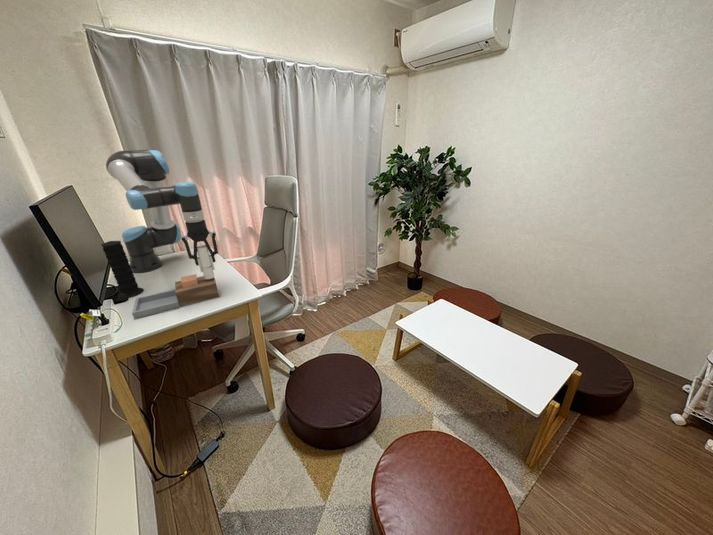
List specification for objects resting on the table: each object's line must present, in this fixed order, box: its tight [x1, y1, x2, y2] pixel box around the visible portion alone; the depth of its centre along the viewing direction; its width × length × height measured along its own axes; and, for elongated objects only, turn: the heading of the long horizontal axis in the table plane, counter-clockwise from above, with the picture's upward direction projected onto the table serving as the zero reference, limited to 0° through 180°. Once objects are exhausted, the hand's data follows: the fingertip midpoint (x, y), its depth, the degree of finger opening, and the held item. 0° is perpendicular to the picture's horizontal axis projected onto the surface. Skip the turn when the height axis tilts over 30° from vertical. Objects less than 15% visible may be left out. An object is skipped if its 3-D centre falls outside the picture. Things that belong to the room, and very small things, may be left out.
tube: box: [197, 244, 215, 279], centre depth 125 cm, size 4×4×15 cm
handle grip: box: [100, 240, 145, 300], centre depth 127 cm, size 10×26×10 cm
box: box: [131, 289, 181, 320], centre depth 121 cm, size 14×16×3 cm
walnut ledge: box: [174, 275, 220, 308], centre depth 127 cm, size 12×16×7 cm
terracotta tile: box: [180, 273, 198, 288], centre depth 124 cm, size 6×6×3 cm
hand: (207, 269), depth 127 cm, fingers closed on tube, 4 cm apart
